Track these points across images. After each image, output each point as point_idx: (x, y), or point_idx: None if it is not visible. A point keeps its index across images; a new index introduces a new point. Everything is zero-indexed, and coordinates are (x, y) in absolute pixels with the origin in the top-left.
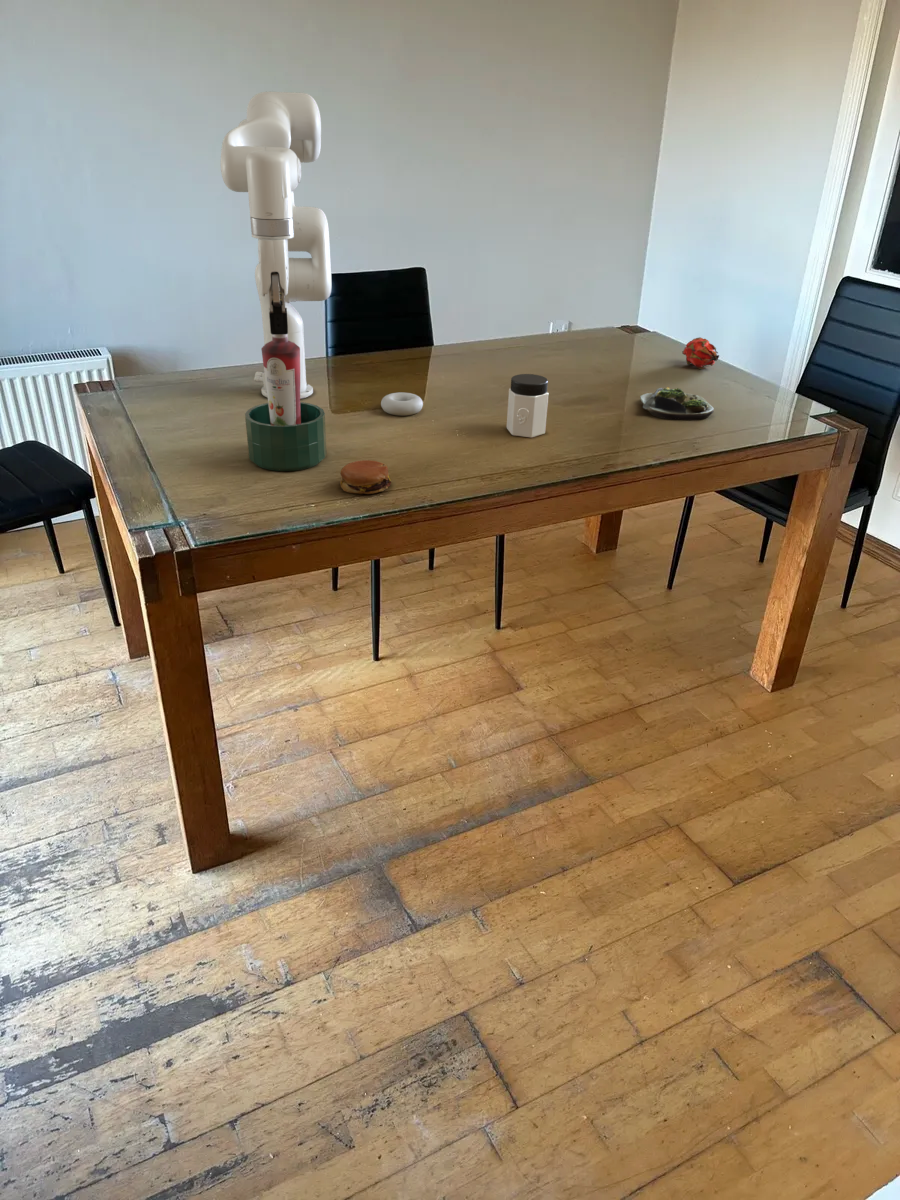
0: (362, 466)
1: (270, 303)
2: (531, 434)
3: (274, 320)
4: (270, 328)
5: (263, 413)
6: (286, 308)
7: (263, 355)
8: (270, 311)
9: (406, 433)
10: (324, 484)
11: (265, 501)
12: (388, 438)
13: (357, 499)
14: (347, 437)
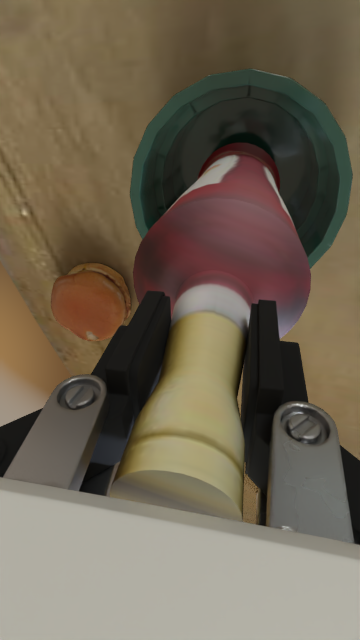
0: (78, 310)
1: (29, 442)
2: (256, 497)
3: (101, 359)
4: (140, 304)
5: (321, 131)
6: (247, 473)
7: (188, 199)
8: (57, 386)
9: (320, 387)
10: (106, 237)
11: (24, 126)
12: (304, 360)
13: (56, 278)
14: (331, 301)
